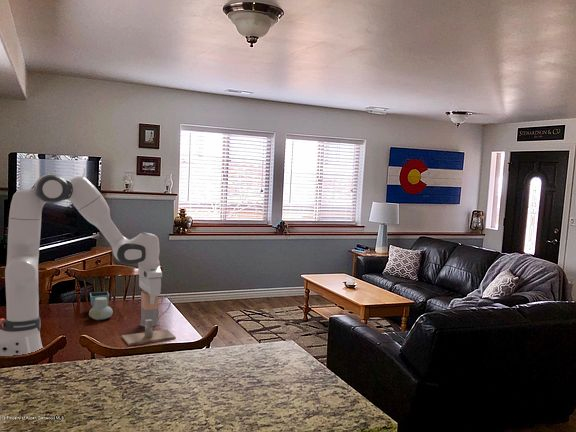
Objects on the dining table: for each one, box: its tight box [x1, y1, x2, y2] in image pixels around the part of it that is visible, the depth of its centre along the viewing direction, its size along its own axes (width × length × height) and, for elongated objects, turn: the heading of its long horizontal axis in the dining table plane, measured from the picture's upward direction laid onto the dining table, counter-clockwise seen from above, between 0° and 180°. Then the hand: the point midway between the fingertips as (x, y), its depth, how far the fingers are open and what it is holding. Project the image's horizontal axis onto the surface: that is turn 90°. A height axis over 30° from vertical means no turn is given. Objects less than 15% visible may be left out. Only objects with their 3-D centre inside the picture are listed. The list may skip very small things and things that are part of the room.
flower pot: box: [89, 291, 110, 309], centre depth 260 cm, size 9×9×9 cm
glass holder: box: [139, 294, 172, 328], centre depth 241 cm, size 9×14×15 cm, turn 109°
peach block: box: [140, 291, 159, 310], centre depth 219 cm, size 6×6×7 cm
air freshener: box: [88, 297, 114, 321], centre depth 247 cm, size 11×8×10 cm
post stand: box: [121, 319, 177, 347], centre depth 220 cm, size 20×12×8 cm, turn 121°
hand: (149, 301), depth 219 cm, fingers closed on peach block, 6 cm apart
